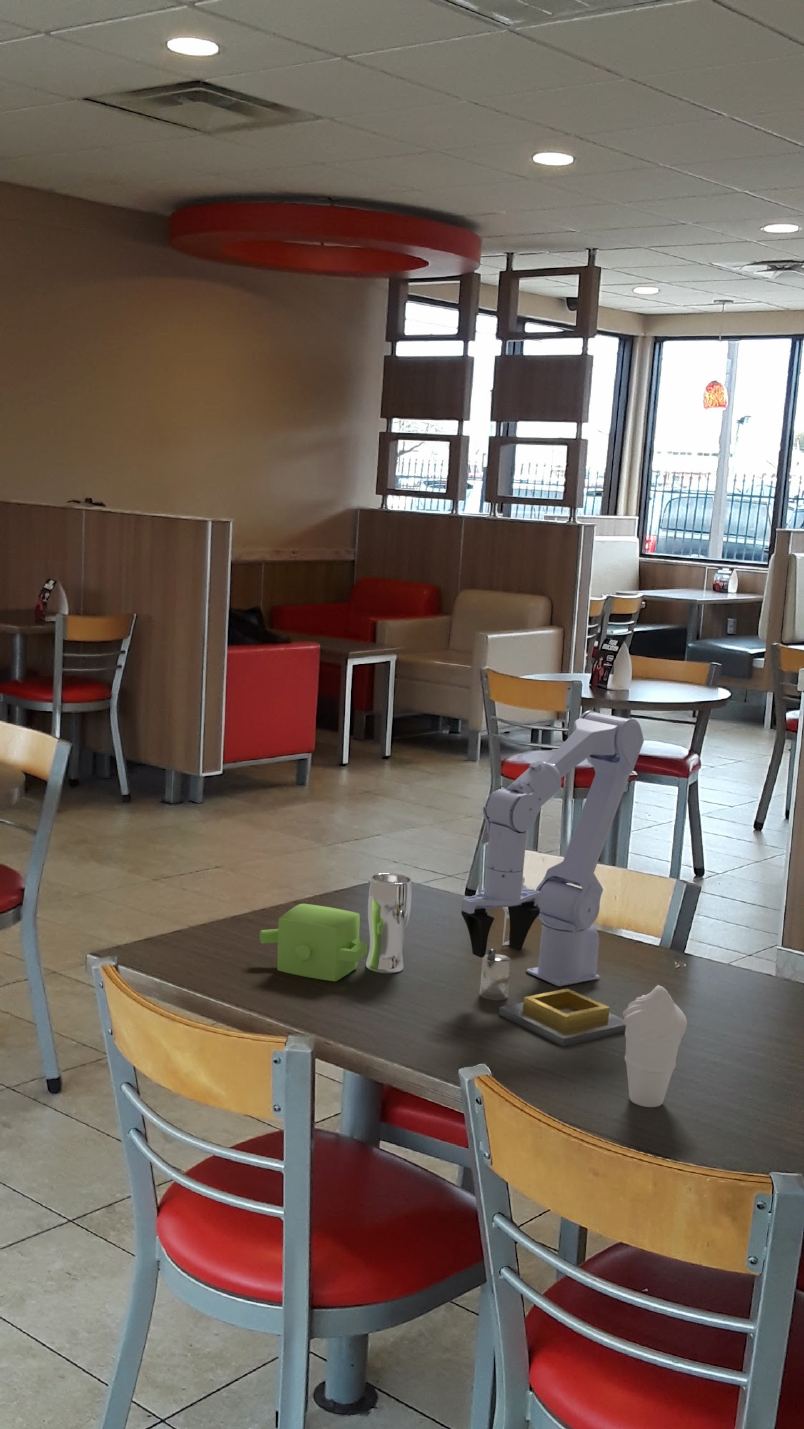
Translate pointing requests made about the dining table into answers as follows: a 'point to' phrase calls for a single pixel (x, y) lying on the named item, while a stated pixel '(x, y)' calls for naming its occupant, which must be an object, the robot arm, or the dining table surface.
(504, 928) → the action figure
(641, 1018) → the soft serve ice cream cone
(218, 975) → the dining table surface
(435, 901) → the dining table surface
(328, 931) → the gearbox
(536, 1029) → the fill port
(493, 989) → the spout can
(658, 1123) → the dining table surface
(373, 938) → the beer glass
